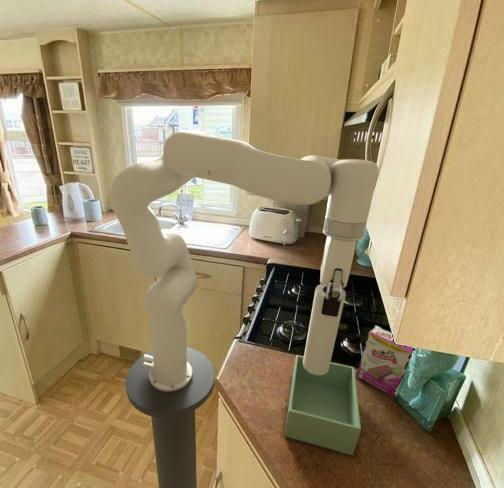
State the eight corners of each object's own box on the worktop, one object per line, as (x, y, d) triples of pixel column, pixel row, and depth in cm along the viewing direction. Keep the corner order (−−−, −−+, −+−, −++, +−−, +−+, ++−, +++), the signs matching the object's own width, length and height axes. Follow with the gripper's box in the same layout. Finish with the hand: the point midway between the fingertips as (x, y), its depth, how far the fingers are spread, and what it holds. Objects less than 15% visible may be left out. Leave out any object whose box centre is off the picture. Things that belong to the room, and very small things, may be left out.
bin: (284, 436, 74) (288, 410, 70) (292, 377, 90) (296, 354, 87) (352, 455, 70) (361, 429, 66) (348, 390, 87) (354, 367, 83)
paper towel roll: (321, 380, 71) (339, 301, 61) (297, 367, 74) (310, 290, 65) (334, 363, 76) (352, 287, 66) (311, 351, 79) (325, 277, 70)
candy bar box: (355, 377, 91) (367, 331, 84) (362, 369, 94) (375, 324, 87) (395, 400, 84) (412, 352, 77) (402, 390, 87) (419, 343, 80)
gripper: (324, 213, 69) (312, 283, 76) (323, 239, 54) (309, 323, 61) (360, 217, 67) (345, 288, 74) (370, 245, 52) (349, 330, 59)
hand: (329, 303), depth 68 cm, fingers closed on paper towel roll, 8 cm apart
